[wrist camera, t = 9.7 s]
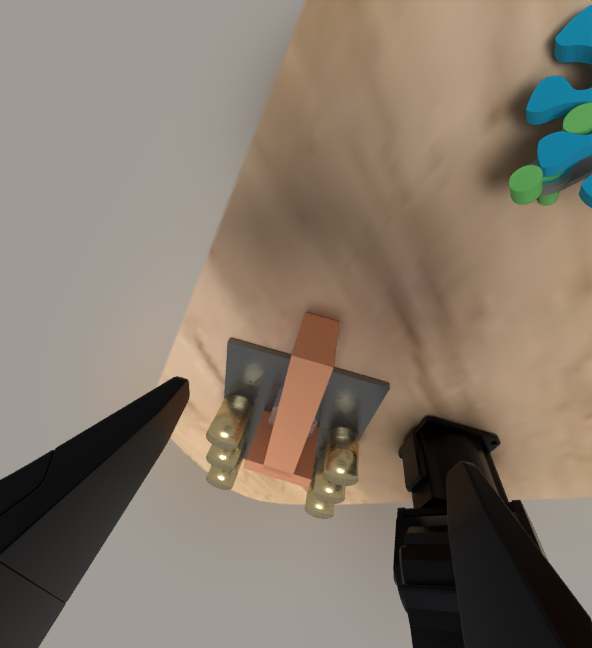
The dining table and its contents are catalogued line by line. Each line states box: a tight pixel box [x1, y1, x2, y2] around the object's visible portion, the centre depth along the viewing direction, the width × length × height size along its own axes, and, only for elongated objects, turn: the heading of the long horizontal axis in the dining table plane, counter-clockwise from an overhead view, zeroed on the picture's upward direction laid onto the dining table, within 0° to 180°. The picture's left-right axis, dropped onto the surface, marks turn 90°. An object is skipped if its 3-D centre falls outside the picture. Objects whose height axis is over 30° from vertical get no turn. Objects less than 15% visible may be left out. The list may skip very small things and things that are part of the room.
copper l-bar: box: [244, 313, 339, 488], centre depth 23 cm, size 6×14×5 cm, turn 169°
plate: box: [206, 338, 390, 519], centre depth 27 cm, size 14×18×5 cm
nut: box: [268, 388, 321, 437], centre depth 25 cm, size 4×5×2 cm
